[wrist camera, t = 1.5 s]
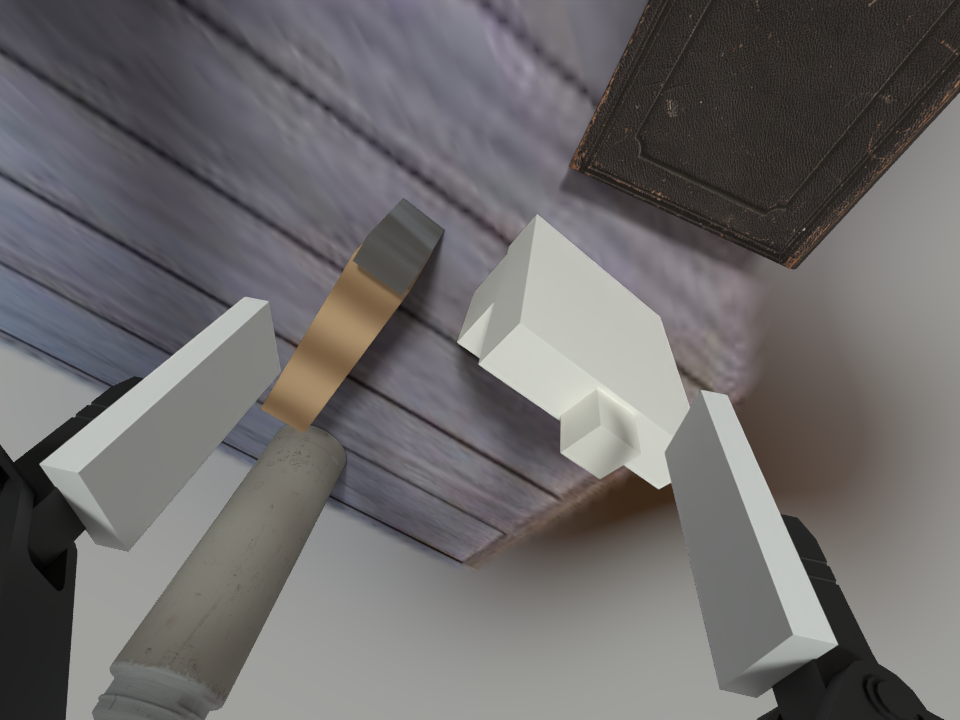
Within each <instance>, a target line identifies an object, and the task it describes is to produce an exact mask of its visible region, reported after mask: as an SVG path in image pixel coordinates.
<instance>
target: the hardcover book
mask: <svg viewBox="0 0 960 720" xmlns="http://www.w3.org/2000/svg"><path fill="white" fill-rule="evenodd" d="M959 93H960V0H649V2H648V4H647V6H646V8H645V10H644V12H643V15H642V17H641V19H640V21H639V23H638V25H637V27H636V29H635V31H634V33H633V35H632V37H631V39H630V41H629V43H628V45H627V47H626V50H625V52H624V54H623V56H622V58H621V60H620V62H619V64H618V66H617V68H616V70H615V72H614V74H613V76H612V78H611V80H610V83H609V85H608V87H607V89H606V91H605V93H604V95H603V97H602V99H601V101H600V103H599V105H598V107H597V109H596V111H595V113H594V115H593V118H592V120H591V122H590V124H589V126H588V128H587V130H586V132H585V134H584V136H583V138H582V140H581V142H580V144H579V146H578V148H577V151H576V153H575V155H574V157H573V159H572V161H571V163H570V165H569V167H570V168H572V169H575V170H577V171H579V172H581V173H583V174H585V175H588V176H590V177H592V178H594V179H596V180H599V181H601V182H603V183H605V184H607V185H609V186H612V187H614V188H616V189H618V190H620V191H622V192H625V193H627V194H629V195H631V196H633V197H635V198H638V199H640V200H642V201H644V202H646V203H648V204H651V205H653V206H655V207H657V208H659V209H661V210H664V211H666V212H668V213H670V214H672V215H674V216H677V217H679V218H681V219H683V220H685V221H687V222H690V223H692V224H694V225H696V226H698V227H700V228H703V229H705V230H707V231H709V232H711V233H713V234H716V235H718V236H720V237H722V238H724V239H726V240H729V241H731V242H733V243H735V244H737V245H739V246H742V247H744V248H746V249H748V250H750V251H752V252H755V253H757V254H759V255H761V256H763V257H766V258H768V259H770V260H772V261H774V262H776V263H778V264H781V265H783V266H785V267H787V268H790V269H796V268H797V267H798V266H799V265H800V264H801V263H802V262H803V261H804V260H805V259H806V258H807V257H808V255H809V254H810V253H811V252H812V251H813V250H814V249H815V248H816V247H817V246H818V245H819V244H820V242H821V241H822V240H823V239H824V238H825V237H826V236H827V235H828V234H829V233H830V232H831V230H833V228H834V227H835V226H836V225H837V224H838V223H839V222H840V221H841V220H842V219H843V218H844V217H845V216H846V214H847V213H848V212H849V211H850V210H851V209H852V208H853V207H854V206H855V205H856V204H857V202H858V201H859V200H860V199H861V198H862V197H863V196H864V195H865V194H866V193H867V192H868V191H869V190H870V189H871V188H872V186H873V185H874V184H875V183H876V182H877V181H878V180H879V179H880V178H881V177H882V176H883V174H885V172H886V171H887V170H888V169H889V168H890V167H891V166H892V165H893V164H894V163H895V161H897V160H898V158H899V157H900V156H901V155H902V154H903V153H904V152H905V151H906V150H907V149H908V148H909V146H910V145H911V144H912V143H913V142H914V141H915V140H916V139H917V138H918V137H919V136H920V135H921V134H922V133H923V131H924V130H925V129H926V128H927V127H928V126H929V125H930V124H931V123H932V122H933V121H934V120H935V119H936V118H937V116H938V115H939V114H940V113H941V112H942V111H943V110H944V109H945V108H946V107H947V106H948V105H949V103H950V102H951V101H952V100H953V99H954V98H955V97H956V96H957V95H958V94H959Z"/></svg>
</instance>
